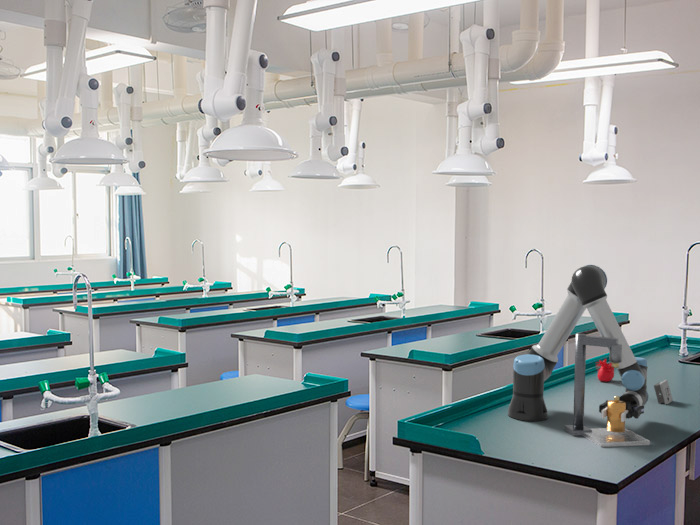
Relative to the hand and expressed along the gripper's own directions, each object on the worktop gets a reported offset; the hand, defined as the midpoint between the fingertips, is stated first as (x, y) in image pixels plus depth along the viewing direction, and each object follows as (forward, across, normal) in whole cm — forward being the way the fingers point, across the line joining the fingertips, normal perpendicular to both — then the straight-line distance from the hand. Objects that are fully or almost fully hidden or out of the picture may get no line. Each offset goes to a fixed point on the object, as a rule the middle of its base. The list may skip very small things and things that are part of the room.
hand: (612, 416), depth 239 cm
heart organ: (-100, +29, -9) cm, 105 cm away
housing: (-5, 0, -6) cm, 8 cm away
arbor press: (-3, +3, -9) cm, 10 cm away
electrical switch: (-72, -2, -9) cm, 73 cm away
